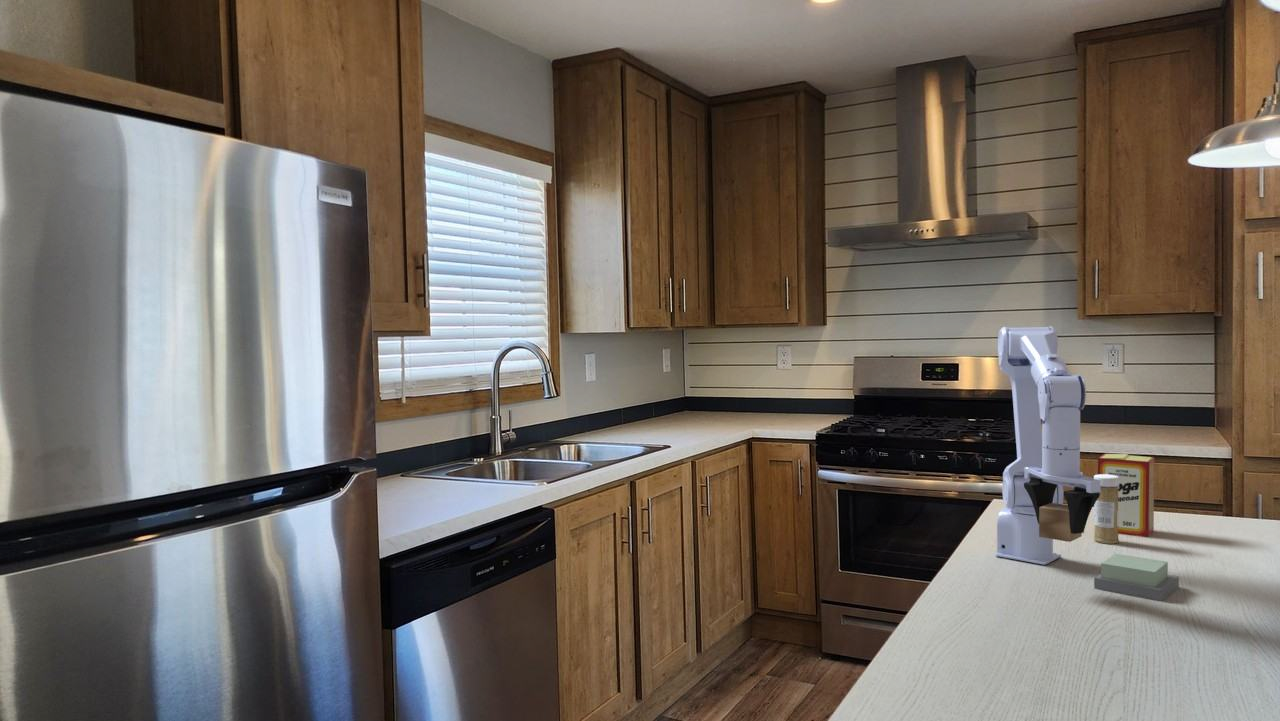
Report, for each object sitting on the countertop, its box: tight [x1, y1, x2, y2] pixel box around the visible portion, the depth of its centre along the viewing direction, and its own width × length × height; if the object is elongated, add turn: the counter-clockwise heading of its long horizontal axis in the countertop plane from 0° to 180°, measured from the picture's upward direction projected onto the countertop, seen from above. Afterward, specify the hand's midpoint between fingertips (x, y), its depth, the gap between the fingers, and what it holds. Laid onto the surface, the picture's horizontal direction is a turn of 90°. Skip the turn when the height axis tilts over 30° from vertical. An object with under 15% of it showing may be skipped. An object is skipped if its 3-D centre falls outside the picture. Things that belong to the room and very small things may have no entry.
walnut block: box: [1039, 503, 1083, 543], centre depth 149 cm, size 5×5×5 cm
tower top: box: [1100, 553, 1169, 587], centre depth 149 cm, size 8×8×2 cm
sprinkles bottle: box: [1093, 473, 1120, 545], centre depth 179 cm, size 5×5×13 cm
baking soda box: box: [1097, 453, 1155, 538], centre depth 188 cm, size 10×6×16 cm
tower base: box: [1093, 573, 1180, 602], centre depth 149 cm, size 10×10×2 cm
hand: (1060, 528), depth 149 cm, fingers closed on walnut block, 7 cm apart
